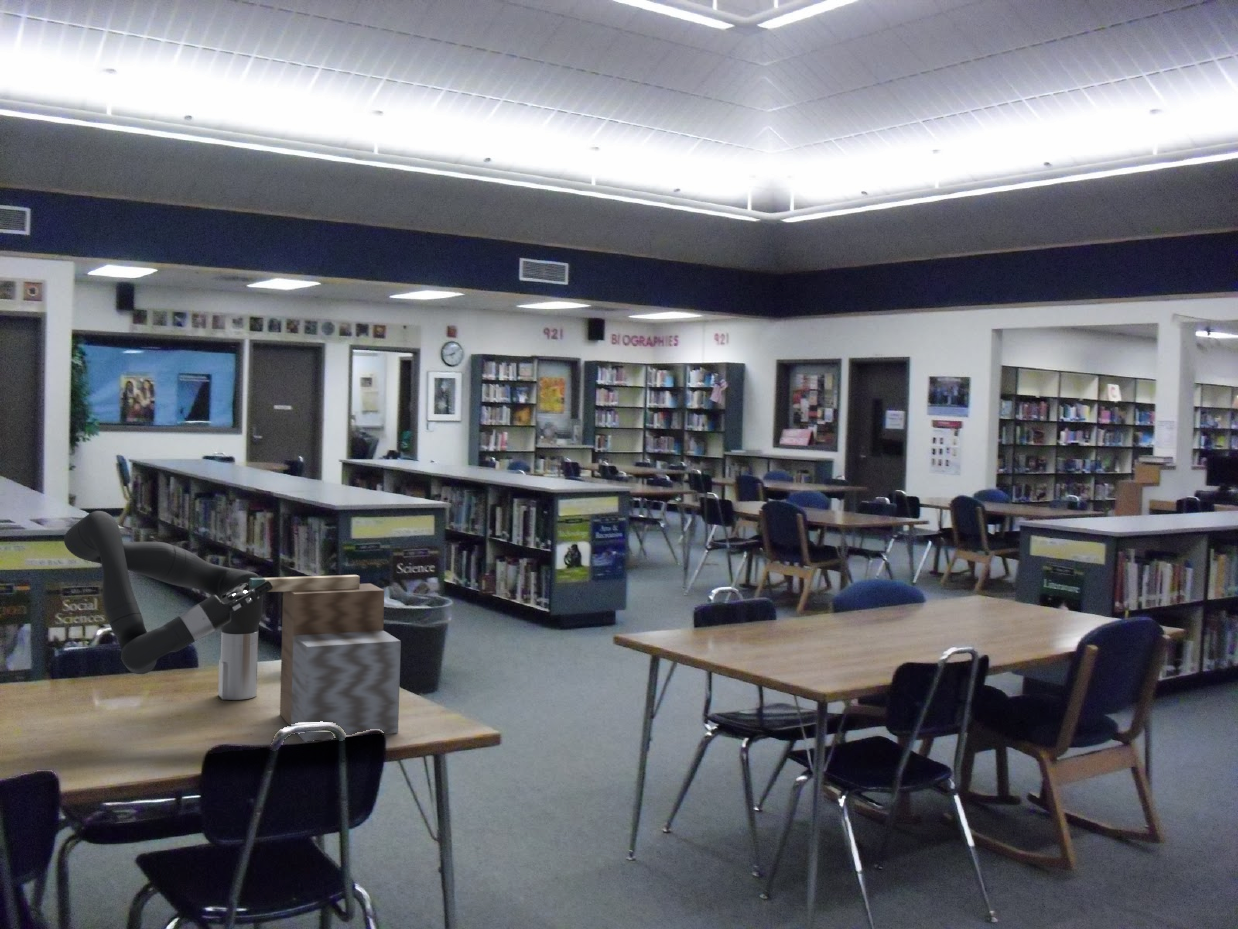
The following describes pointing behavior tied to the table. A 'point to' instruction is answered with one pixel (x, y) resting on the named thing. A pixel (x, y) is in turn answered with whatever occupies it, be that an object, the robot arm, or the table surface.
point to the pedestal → (339, 661)
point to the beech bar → (308, 583)
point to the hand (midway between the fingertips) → (267, 581)
